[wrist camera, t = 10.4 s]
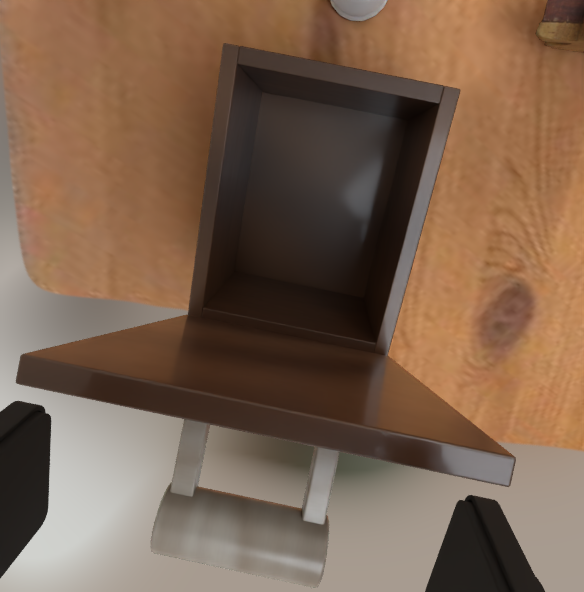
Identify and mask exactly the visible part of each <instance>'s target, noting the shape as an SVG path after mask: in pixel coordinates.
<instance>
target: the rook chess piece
mask: <svg viewBox="0 0 584 592" xmlns="http://www.w3.org/2000/svg"><path fill="white" fill-rule="evenodd" d="M330 1H331V4H332V6H333V7H334V8H335V10H336V11H337V12H338V13H339V15H341V16H343V17H345V18H347V19H349V20H350V21H364V20H366V19H369V18H371V17H374V16H375V15H376V14H377V13H378V12H379V11H380V10H381V9H382V8H383V7H384V6H385V4H386V2H387V0H330Z"/></svg>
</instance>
